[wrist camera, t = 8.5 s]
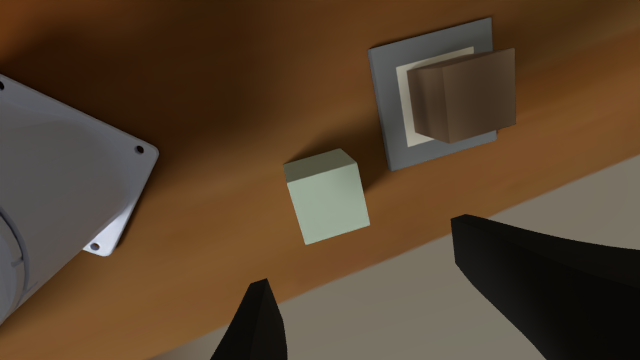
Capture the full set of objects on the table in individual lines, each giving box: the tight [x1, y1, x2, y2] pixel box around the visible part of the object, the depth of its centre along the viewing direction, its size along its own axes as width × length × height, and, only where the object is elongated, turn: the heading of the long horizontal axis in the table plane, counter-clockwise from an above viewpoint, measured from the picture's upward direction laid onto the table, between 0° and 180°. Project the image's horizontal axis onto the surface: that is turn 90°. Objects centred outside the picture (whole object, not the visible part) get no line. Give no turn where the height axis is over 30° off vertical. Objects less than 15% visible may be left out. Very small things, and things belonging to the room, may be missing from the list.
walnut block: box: [407, 48, 516, 144], centre depth 18 cm, size 4×4×4 cm
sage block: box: [283, 148, 370, 245], centre depth 19 cm, size 4×4×4 cm
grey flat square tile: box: [367, 17, 497, 171], centre depth 20 cm, size 8×8×1 cm
